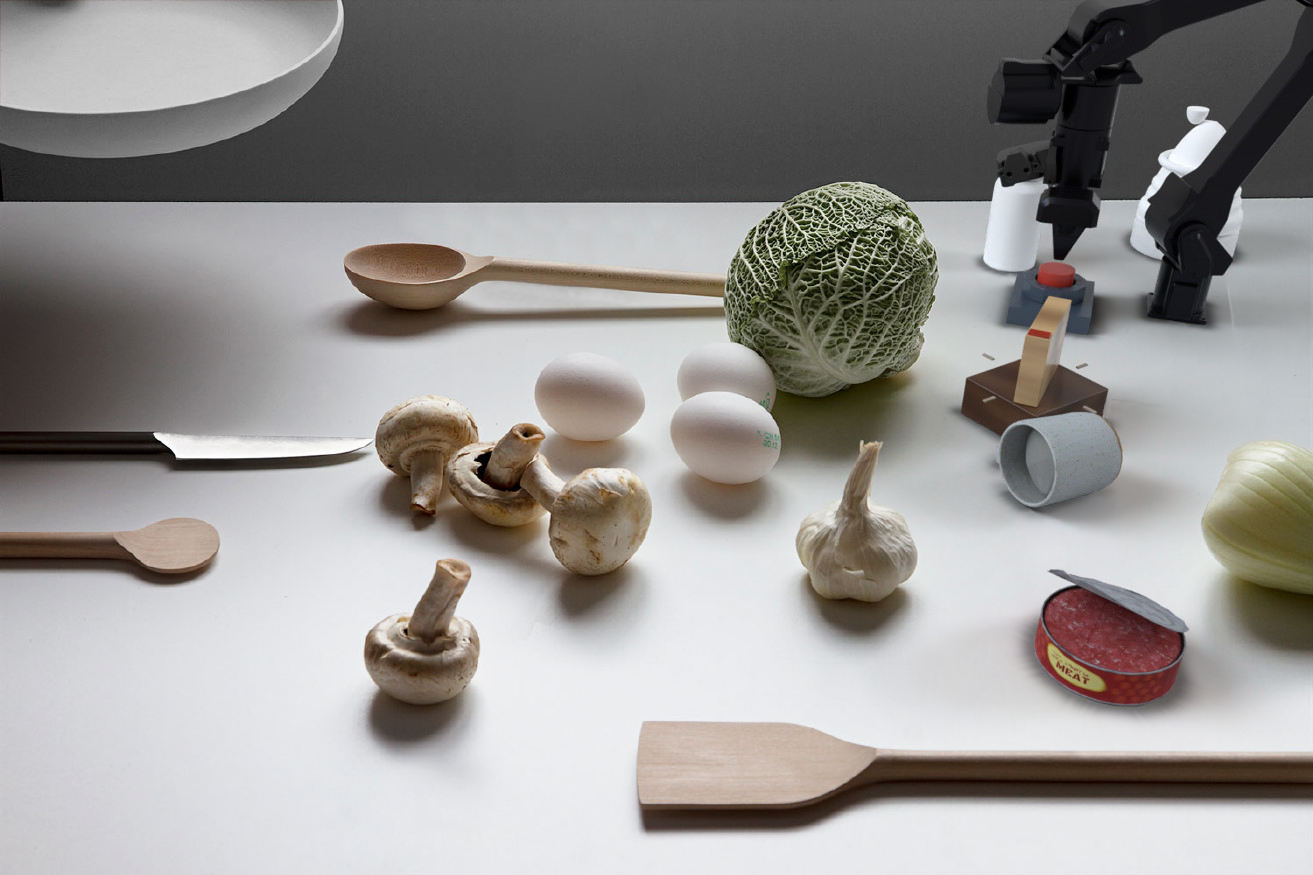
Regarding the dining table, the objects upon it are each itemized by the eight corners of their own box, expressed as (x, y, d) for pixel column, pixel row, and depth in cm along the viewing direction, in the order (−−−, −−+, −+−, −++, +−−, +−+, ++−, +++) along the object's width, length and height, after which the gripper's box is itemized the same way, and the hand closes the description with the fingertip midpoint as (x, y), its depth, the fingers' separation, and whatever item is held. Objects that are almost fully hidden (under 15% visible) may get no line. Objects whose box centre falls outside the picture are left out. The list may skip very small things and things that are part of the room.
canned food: (1021, 681, 87) (1006, 553, 86) (1151, 663, 87) (1137, 535, 86) (1078, 727, 76) (1061, 581, 75) (1227, 707, 76) (1211, 561, 75)
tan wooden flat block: (1036, 359, 114) (1049, 293, 111) (1059, 364, 113) (1072, 297, 110) (1013, 402, 107) (1025, 333, 103) (1036, 407, 106) (1050, 337, 102)
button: (1038, 273, 134) (1041, 260, 133) (1073, 278, 133) (1076, 264, 132) (1035, 286, 131) (1038, 272, 130) (1071, 291, 130) (1074, 277, 129)
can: (979, 269, 145) (993, 178, 138) (986, 252, 150) (1000, 163, 143) (1031, 277, 142) (1048, 184, 136) (1037, 258, 148) (1053, 168, 141)
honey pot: (1118, 251, 150) (1148, 115, 140) (1144, 222, 159) (1173, 93, 149) (1221, 272, 143) (1260, 131, 134) (1242, 241, 152) (1280, 107, 143)
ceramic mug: (1120, 502, 99) (1138, 426, 96) (1046, 524, 97) (1062, 447, 93) (1039, 446, 108) (1052, 374, 104) (969, 465, 105) (980, 392, 101)
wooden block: (1026, 372, 121) (1032, 337, 118) (1137, 430, 110) (1146, 392, 108) (926, 407, 114) (931, 370, 112) (1034, 471, 104) (1042, 433, 102)
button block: (1014, 287, 140) (1019, 257, 138) (1091, 298, 137) (1098, 267, 135) (1005, 324, 131) (1010, 292, 129) (1087, 335, 128) (1094, 303, 126)
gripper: (1015, 96, 132) (995, 224, 140) (998, 140, 117) (977, 280, 125) (1116, 105, 129) (1090, 235, 137) (1112, 151, 114) (1082, 294, 122)
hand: (1058, 259), depth 130 cm, fingers closed
